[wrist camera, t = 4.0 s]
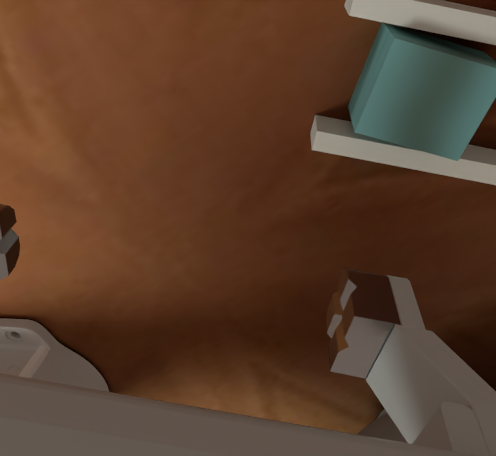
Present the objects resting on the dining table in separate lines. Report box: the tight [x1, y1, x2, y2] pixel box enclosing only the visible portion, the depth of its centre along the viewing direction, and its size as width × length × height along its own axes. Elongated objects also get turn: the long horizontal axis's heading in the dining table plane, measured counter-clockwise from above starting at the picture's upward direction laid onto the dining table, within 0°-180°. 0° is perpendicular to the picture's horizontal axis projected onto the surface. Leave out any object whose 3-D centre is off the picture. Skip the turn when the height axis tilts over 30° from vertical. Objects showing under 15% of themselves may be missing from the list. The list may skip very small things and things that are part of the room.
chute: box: [310, 0, 496, 185], centre depth 26 cm, size 14×9×2 cm, turn 80°
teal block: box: [348, 22, 496, 161], centre depth 25 cm, size 6×5×4 cm
